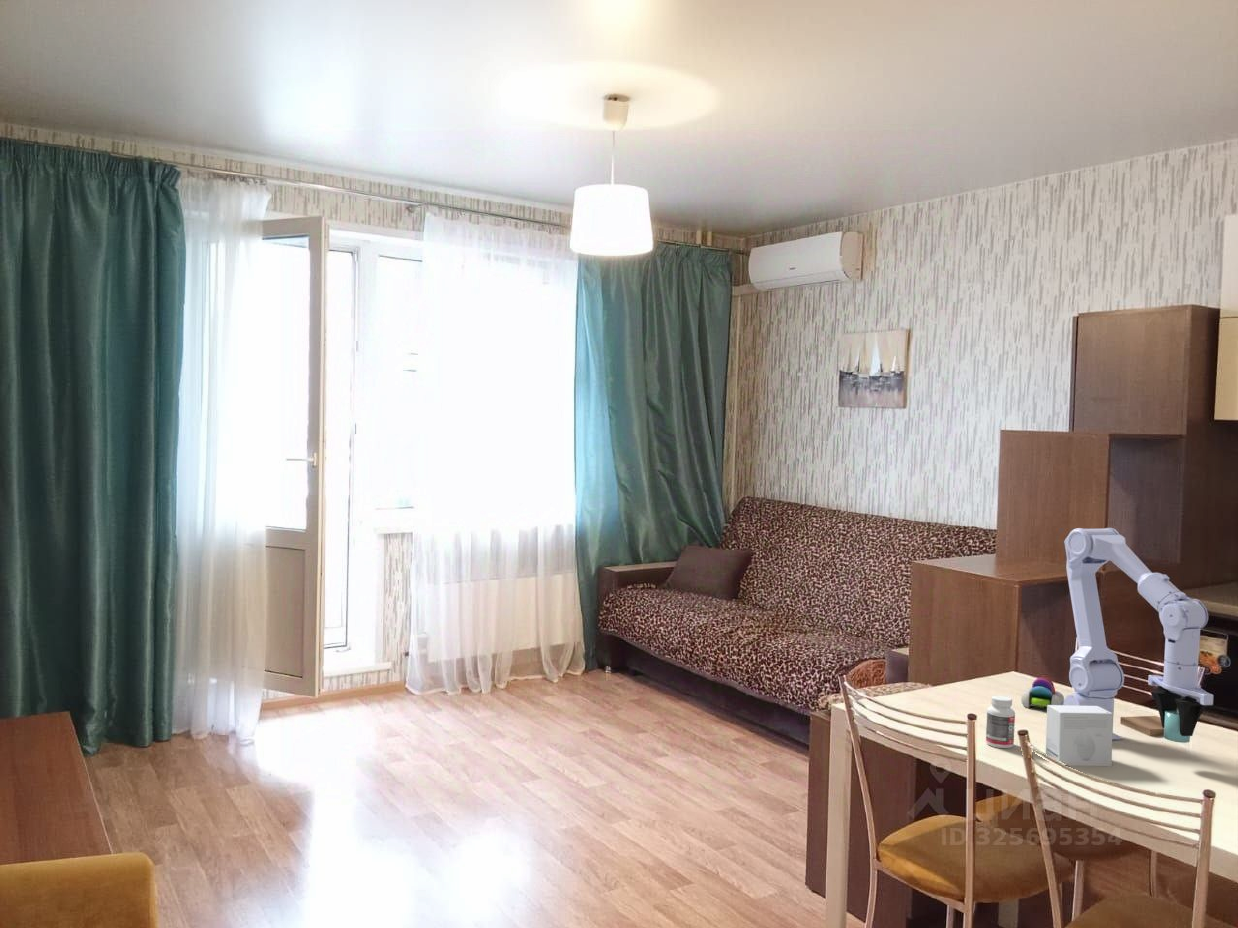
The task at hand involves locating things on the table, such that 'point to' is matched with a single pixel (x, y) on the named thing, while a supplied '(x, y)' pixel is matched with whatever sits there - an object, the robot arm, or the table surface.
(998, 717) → the pill bottle
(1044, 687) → the multicolored rounded toy
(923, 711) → the table surface
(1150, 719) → the walnut block
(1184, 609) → the robot arm
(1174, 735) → the teal rounded cylinder
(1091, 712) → the skincare box
